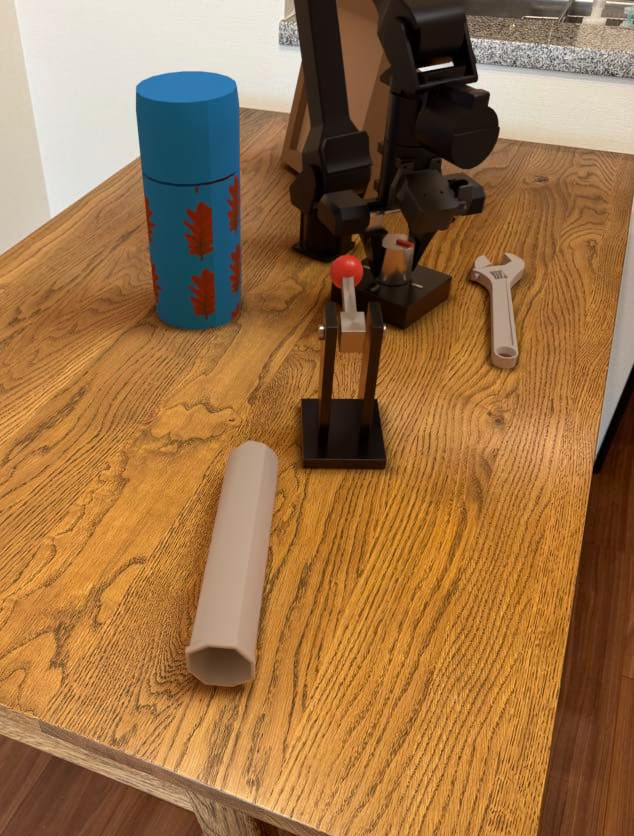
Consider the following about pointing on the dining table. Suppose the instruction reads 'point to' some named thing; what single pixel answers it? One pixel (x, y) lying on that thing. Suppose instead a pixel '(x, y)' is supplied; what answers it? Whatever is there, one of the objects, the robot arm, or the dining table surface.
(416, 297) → the dial base
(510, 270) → the adjustable wrench
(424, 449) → the dining table surface
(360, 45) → the photo frame
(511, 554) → the dining table surface
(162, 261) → the thermos
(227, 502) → the tube
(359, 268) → the lever
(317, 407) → the lever stand
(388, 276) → the dial knob
